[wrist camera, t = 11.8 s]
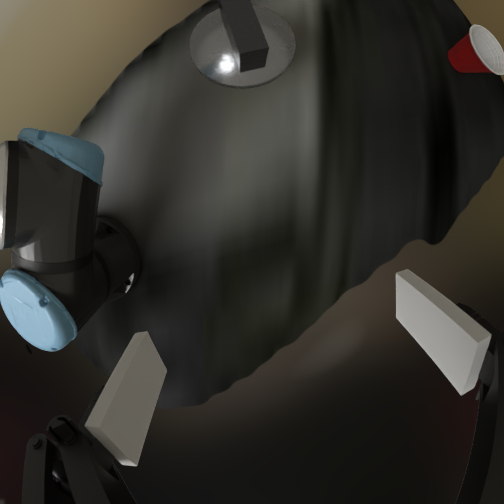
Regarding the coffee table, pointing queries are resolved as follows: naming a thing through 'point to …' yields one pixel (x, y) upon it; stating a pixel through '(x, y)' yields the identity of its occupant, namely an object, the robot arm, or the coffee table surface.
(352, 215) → the coffee table surface
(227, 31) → the steel lid
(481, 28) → the plastic cup
